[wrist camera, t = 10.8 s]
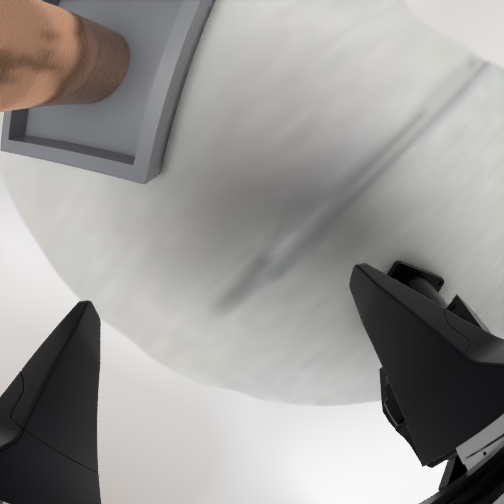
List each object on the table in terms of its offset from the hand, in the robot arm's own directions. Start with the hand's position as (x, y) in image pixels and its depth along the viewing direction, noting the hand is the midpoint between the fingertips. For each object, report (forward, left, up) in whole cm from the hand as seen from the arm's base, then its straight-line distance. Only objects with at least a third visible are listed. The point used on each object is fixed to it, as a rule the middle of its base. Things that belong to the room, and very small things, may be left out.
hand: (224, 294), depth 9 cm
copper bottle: (+13, -7, -11) cm, 18 cm away
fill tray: (+13, -7, -12) cm, 19 cm away
